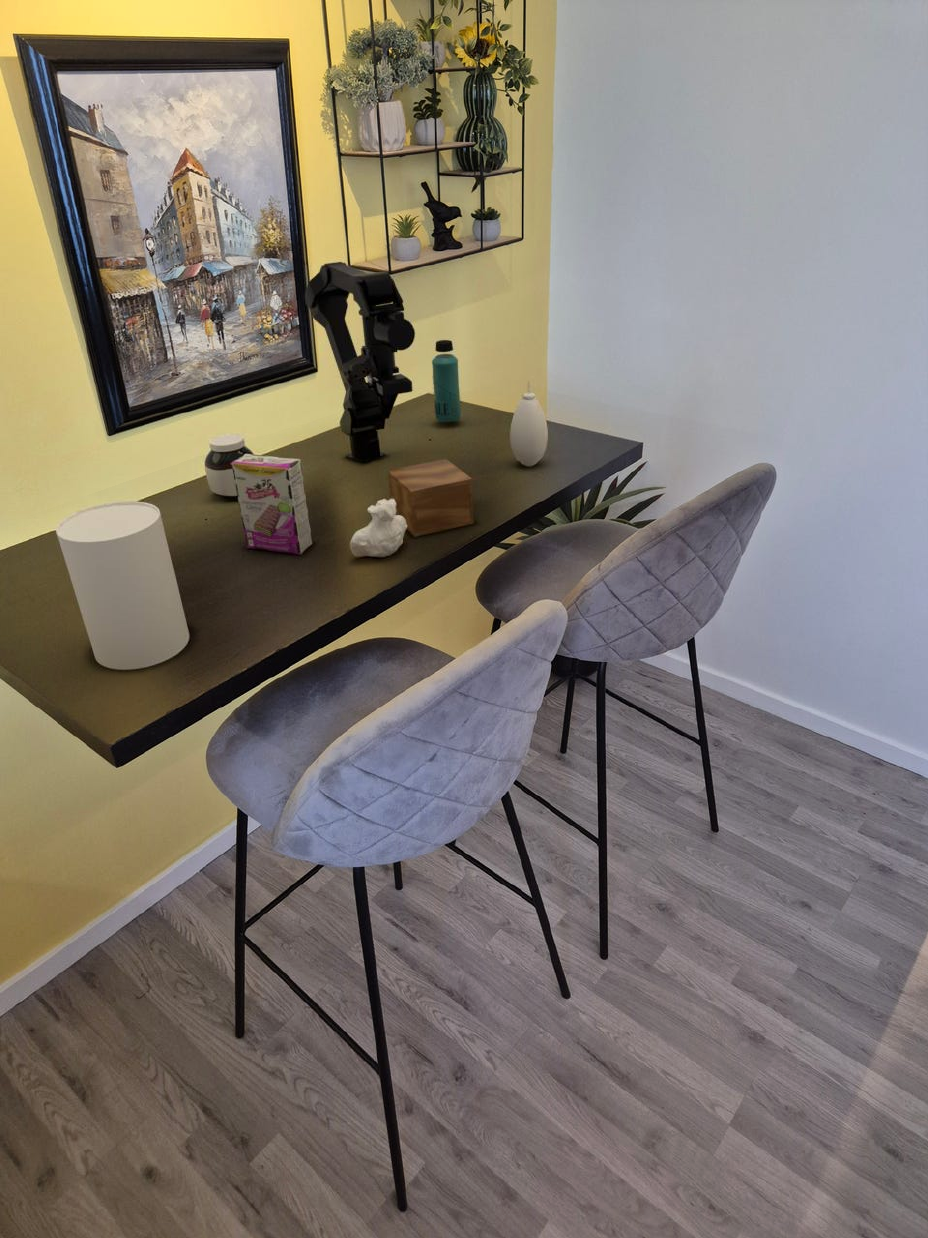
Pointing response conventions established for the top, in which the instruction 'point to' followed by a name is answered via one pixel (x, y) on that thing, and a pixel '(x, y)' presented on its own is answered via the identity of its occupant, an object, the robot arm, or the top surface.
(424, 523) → the cabinet
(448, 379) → the beverage bottle
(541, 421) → the white air blower bulb
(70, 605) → the top surface
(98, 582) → the canister
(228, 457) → the spread jar
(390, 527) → the white lumpy figure
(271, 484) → the candy bar box
